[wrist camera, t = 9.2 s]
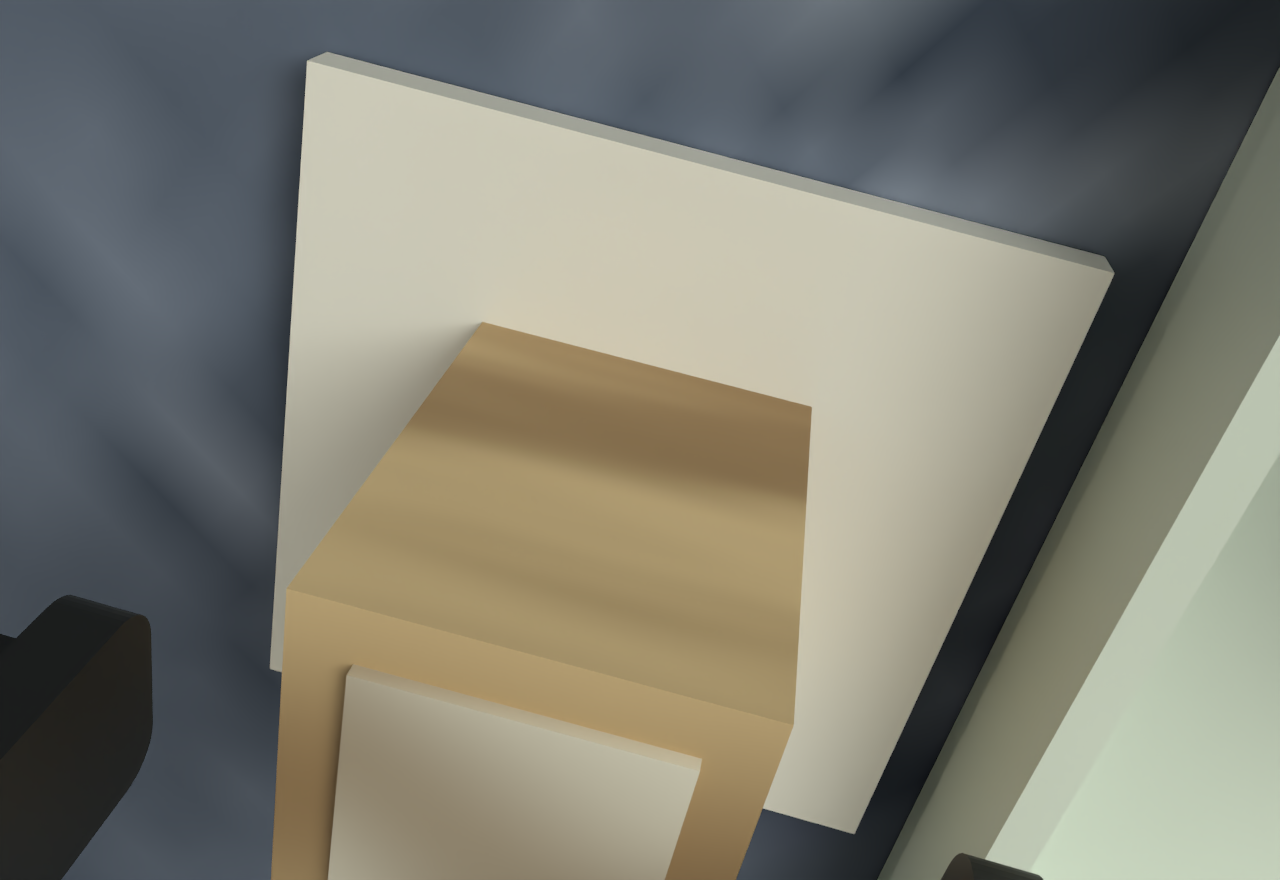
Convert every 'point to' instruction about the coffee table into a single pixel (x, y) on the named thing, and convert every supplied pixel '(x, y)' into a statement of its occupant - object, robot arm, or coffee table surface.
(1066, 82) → the coffee table surface
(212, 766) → the coffee table surface
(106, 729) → the robot arm
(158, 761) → the coffee table surface
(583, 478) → the oak box
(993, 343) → the ceramic tile
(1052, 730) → the parts tray
